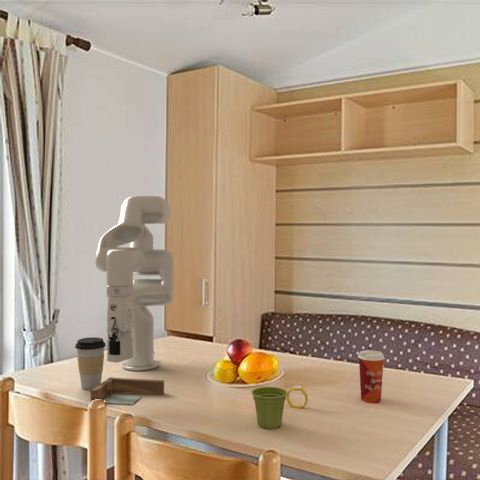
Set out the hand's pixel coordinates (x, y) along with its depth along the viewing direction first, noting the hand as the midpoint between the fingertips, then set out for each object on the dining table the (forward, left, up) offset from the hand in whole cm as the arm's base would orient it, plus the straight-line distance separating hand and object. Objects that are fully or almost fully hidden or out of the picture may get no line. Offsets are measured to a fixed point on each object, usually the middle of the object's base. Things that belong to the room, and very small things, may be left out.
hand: (120, 351), depth 165 cm
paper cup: (-13, +72, -15) cm, 75 cm away
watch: (-3, +51, -15) cm, 54 cm away
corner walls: (-2, +2, -15) cm, 15 cm away
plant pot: (+12, +45, -15) cm, 49 cm away
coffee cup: (-11, -15, -15) cm, 23 cm away
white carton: (0, 0, -3) cm, 3 cm away
